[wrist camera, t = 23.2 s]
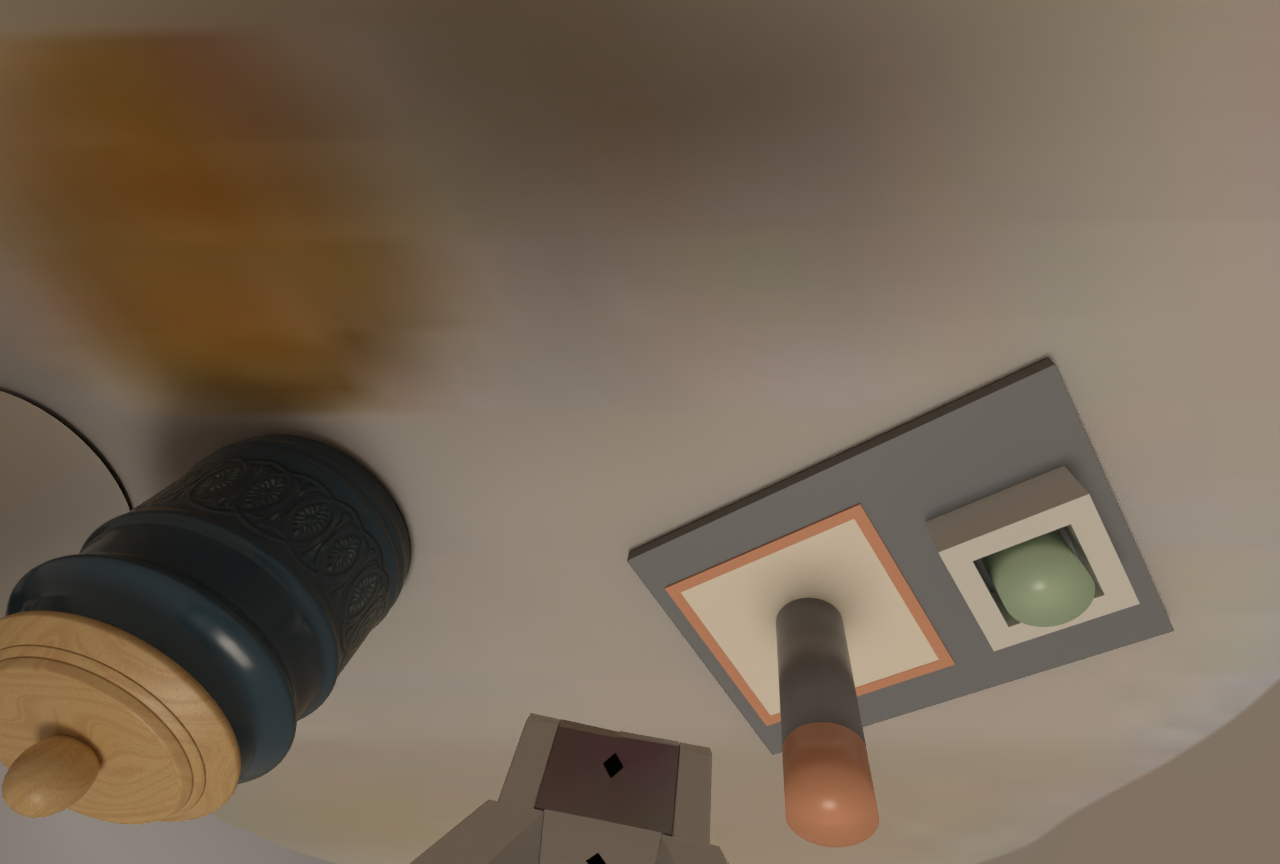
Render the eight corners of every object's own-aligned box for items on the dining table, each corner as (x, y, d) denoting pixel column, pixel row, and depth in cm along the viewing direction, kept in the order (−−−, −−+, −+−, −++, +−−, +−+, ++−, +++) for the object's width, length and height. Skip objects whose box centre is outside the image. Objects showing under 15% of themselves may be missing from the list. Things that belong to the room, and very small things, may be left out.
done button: (999, 594, 33) (1021, 637, 30) (969, 539, 32) (990, 579, 29) (1077, 567, 32) (1107, 609, 29) (1048, 508, 30) (1077, 547, 28)
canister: (424, 463, 36) (174, 735, 20) (410, 638, 42) (207, 956, 26) (196, 401, 37) (-221, 622, 21) (213, 584, 42) (-103, 863, 27)
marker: (795, 657, 37) (811, 855, 27) (763, 612, 36) (769, 800, 26) (854, 635, 36) (894, 834, 26) (824, 588, 35) (853, 777, 25)
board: (772, 743, 41) (773, 792, 38) (629, 552, 37) (618, 590, 34) (1165, 619, 34) (1205, 668, 31) (1047, 357, 29) (1081, 385, 26)
